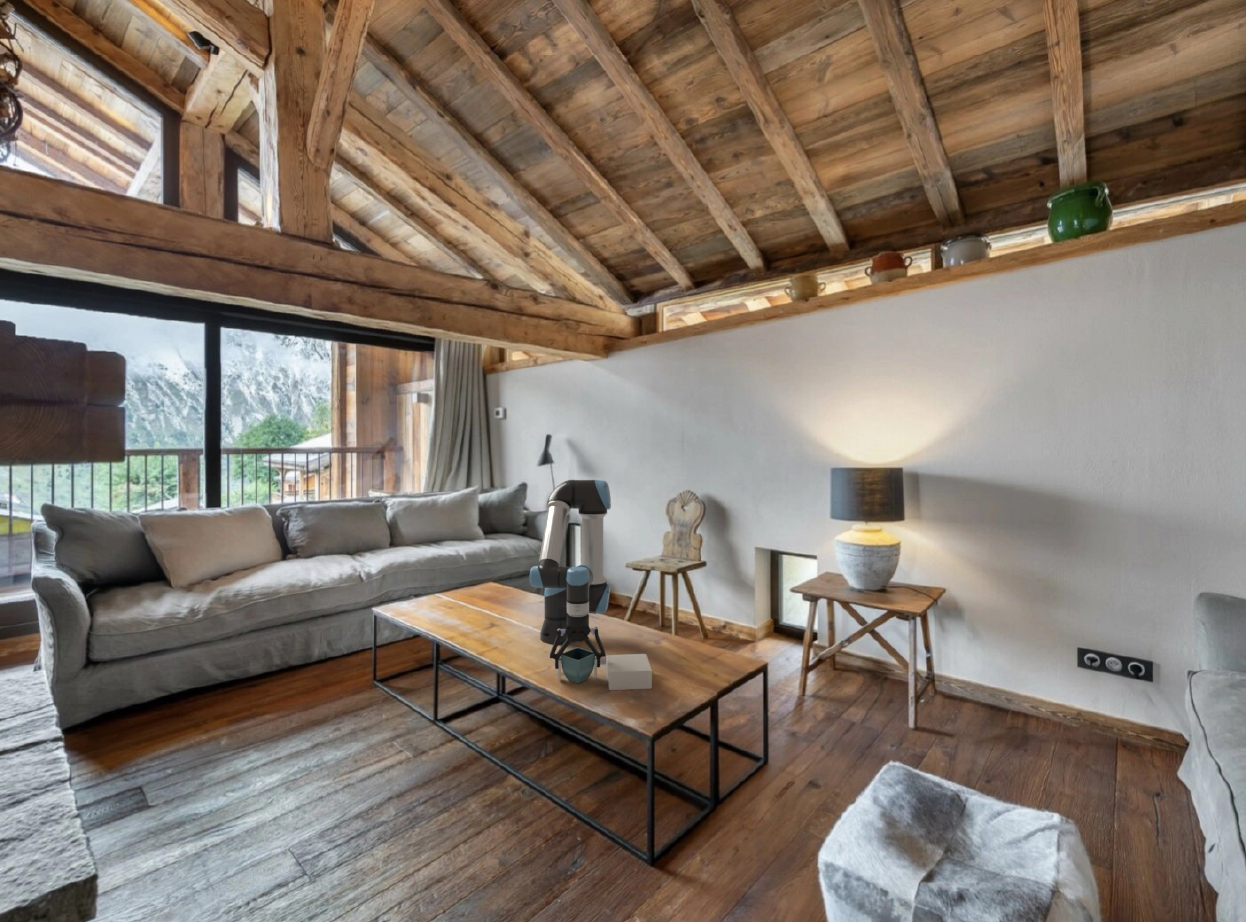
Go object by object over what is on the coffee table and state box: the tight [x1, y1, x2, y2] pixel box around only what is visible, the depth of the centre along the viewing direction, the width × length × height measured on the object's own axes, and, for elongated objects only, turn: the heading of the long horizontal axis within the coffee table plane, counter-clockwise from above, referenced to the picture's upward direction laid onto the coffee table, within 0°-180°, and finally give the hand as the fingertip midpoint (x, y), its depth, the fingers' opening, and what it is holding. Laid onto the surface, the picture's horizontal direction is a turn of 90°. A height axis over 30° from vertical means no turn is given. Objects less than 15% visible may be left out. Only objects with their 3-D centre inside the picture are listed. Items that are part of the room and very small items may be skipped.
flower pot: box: [560, 646, 595, 684], centre depth 188 cm, size 9×9×9 cm
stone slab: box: [605, 653, 653, 691], centre depth 188 cm, size 14×14×6 cm
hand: (577, 677), depth 188 cm, fingers closed on flower pot, 11 cm apart
